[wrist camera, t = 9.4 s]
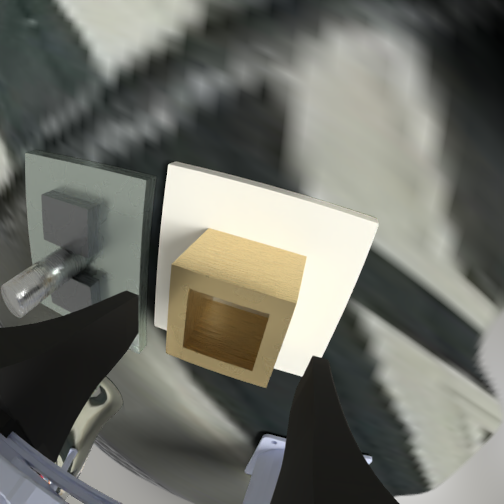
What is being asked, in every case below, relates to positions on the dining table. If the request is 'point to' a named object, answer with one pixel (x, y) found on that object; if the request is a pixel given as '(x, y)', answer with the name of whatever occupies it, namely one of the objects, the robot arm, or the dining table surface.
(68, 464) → the beer glass
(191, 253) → the tan hollow boxy piece
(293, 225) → the board
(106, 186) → the grey plate with post
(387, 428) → the dining table surface
